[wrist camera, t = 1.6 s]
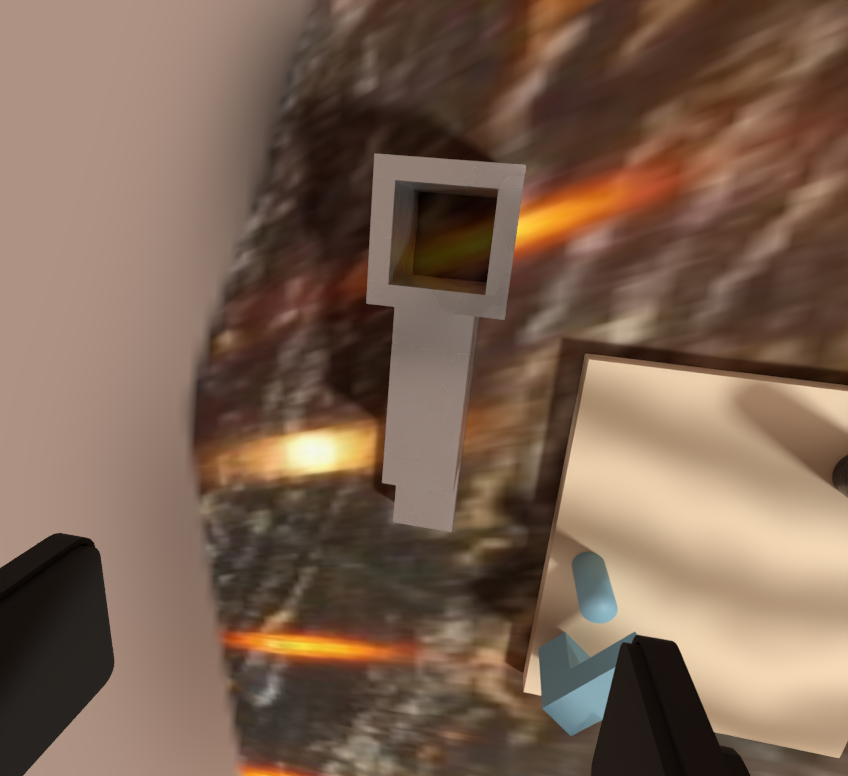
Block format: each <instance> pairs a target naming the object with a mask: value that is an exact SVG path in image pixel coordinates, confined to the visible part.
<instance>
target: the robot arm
mask: <svg viewBox="0 0 848 776" xmlns="http://www.w3.org/2000/svg"><path fill="white" fill-rule="evenodd" d="M113 668H114V654H113V647H112V640H111V633H110V625H109V618H108V610H107V602H106V594H105V587H104V579H103V572H102V564H101V557H100V553H99V551H98V550H97V548H95V545H94V543H93V541H92V540H91V539H89V538H85V537H79V536H74V535H68V534H62V533H58V534H53V535H51V536H49V537H48V538H46V539H44V540H43V541H41V542H40V543H38V544H37V545H35V546H34V547H32V548H31V549H29V550H28V551H26V552H24V553H23V554H21V555H20V556H18V557H17V558H15V559H14V560H12V561H11V562H9V563H8V564H6V565H4V566H3V567H1V568H0V776H23V775H24V774H25V773H26V772H27V770H28V769H29V768H30V767H31V766H32V765H33V764H34V763H35V761H37V759H38V758H39V757H40V756H41V755H42V754H43V753H44V752H45V750H46V749H47V748H48V747H49V746H50V745H51V744H52V743H53V742H54V741H55V739H56V738H57V737H58V736H59V735H60V734H61V733H62V732H63V730H64V729H65V728H66V727H67V726H68V725H69V724H70V723H71V722H72V720H73V719H74V718H75V717H76V716H77V715H78V714H79V713H80V712H81V711H82V709H83V708H84V707H85V706H86V705H87V704H88V703H89V702H90V701H91V700H92V698H93V697H94V696H95V695H96V694H97V693H98V692H99V691H100V689H101V688H102V687H103V686H104V685H105V684H106V682H107V681H108V679H109V678H110V676H111V674H112V671H113ZM591 776H750V774H749V772H748V770H747V768H746V766H745V764H744V762H743V760H742V759H741V757H740V755H739V754H738V753H737V752H736V751H735V750H734V749H732V748H729V747H726V746H721V745H719V743H718V741H717V738H716V736H715V733H714V731H713V729H712V726H711V724H710V721H709V719H708V717H707V714H706V712H705V710H704V707H703V705H702V702H701V700H700V698H699V695H698V693H697V690H696V688H695V686H694V683H693V681H692V678H691V676H690V674H689V671H688V669H687V666H686V664H685V662H684V659H683V657H682V654H681V652H680V650H679V648H678V646H677V644H676V643H675V642H674V641H670V640H665V639H659V638H653V637H648V636H642V635H636V636H635V637H634V638H633V641H632V644H631V643H626V642H623V643H622V644H621V646H620V649H619V654H618V658H617V662H616V666H615V670H614V674H613V678H612V683H611V687H610V691H609V695H608V699H607V703H606V707H605V711H604V716H603V720H602V724H601V728H600V732H599V736H598V740H597V745H596V749H595V753H594V757H593V761H592V770H591Z"/></svg>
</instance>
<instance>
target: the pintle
mask: <svg viewBox="0 0 848 776" xmlns="http://www.w3.org/2000/svg"><path fill="white" fill-rule="evenodd" d="M832 481H833V484H834V486H835V488H836V489H837V490H838V491H839V492H841V493H842V494H843V495H844V496H846V497H847V498H848V455H846V456H845V457H843V458H842V459H841V460H840V461H839V462H838V463H837V464H836V466H835V467H834V469H833V472H832Z"/></svg>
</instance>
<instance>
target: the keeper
mask: <svg viewBox="0 0 848 776" xmlns="http://www.w3.org/2000/svg"><path fill="white" fill-rule="evenodd" d="M572 571H573V576H574V582H575V587H576V592H577V598H578V603H579V609H580V612H581V614H582V616H583V617H584V618H585V619H586V620H588V621H590V622H593V623H606V622H609V621H611V620H612V619H613V618H614V617H615V616H616V614H617V611H618V607H617V603H616V600H615V596H614V593H613V589H612V586H611V582H610V579H609V575H608V572H607V568H606V565H605V562H604V560H603V558H602V557H601V556H600V555H598V554H596V553H593V552H583V553H580V554H578V555H577V556H576V557H575V558H574V559H573V561H572ZM636 635H638V634H637V633H636V632H633V633H631V634H630V635H628V636H626V637H625V638H623V639H621V640H619V641H618V642H616V643H614V644H613V645H611V646H609V647H607V648H606V649H604V650H602V651H601V652H599V653H597V654H596V655H594V656H592V657H590V656H589V655H588V654H587V653H586V652H585V651H584V650H583V649H582V648H581V647H580V646H579V645H578V644H577V643H576V642H575V641H574V640H573V639H572V638H571V637H570V636H569V635H568V634H567V633H566V632H564V633H562V634H561V635H559V636H557V637H556V638H554V639H552V640H551V641H549V642H548V643H546V644H544V645H543V646H541V647H540V648H538V651H539V666H540V681H541V696H542V709H543V710H545V711H546V712H547V713H548V714H549V715H550V716H551V717H552V718H553V719H554V720H555V721H556V722H557V723H558V724H559V725H560V726H561V727H562V728H563V729H564V730H565V731H566V732H567V733H568V734H569V735H570V736H572V735H574V734H576V733H578V732H580V731H582V730H584V729H585V728H587V727H589V726H591V725H593V724H595V723H597V722H599V721H600V720H602V719H603V716H604V711H605V707H606V703H607V699H608V695H609V691H610V687H611V683H612V678H613V674H614V670H615V666H616V662H617V658H618V654H619V649H620V646H621V644H622V643H623V642H626V643H631V644H632V641H633V638H634V637H635V636H636Z"/></svg>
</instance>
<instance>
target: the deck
mask: <svg viewBox="0 0 848 776" xmlns="http://www.w3.org/2000/svg"><path fill="white" fill-rule="evenodd" d="M846 455H848V385H841V384H832V383H824V382H816V381H808V380H800V379H792V378H783V377H775V376H767V375H759V374H751V373H742V372H734V371H726V370H718V369H710V368H702V367H693V366H685V365H677V364H669V363H661V362H653V361H644V360H636V359H628V358H620V357H612V356H604V355H595V354H587V353H585V356H584V362H583V367H582V372H581V377H580V382H579V387H578V393H577V398H576V403H575V408H574V413H573V419H572V424H571V429H570V434H569V439H568V444H567V450H566V455H565V460H564V465H563V470H562V476H561V481H560V486H559V491H558V496H557V501H556V507H555V512H554V517H553V522H552V527H551V533H550V538H549V543H548V548H547V553H546V558H545V564H544V569H543V574H542V579H541V584H540V590H539V595H538V600H537V605H536V610H535V615H534V621H533V626H532V631H531V636H530V641H529V646H528V652H527V657H526V662H525V667H524V672H523V685H524V692H527V693H531V694H536V695H541V681H540V666H539V651H538V648H540V647H541V646H543V645H544V644H546V643H548V642H549V641H551V640H552V639H554V638H556V637H557V636H559V635H561V634H562V633H564V632H566V633H567V634H568V635H569V636H570V637H571V638H572V639H573V640H574V641H575V642H576V643H577V644H578V645H579V646H580V647H581V648H582V649H583V650H584V651H585V652H586V653H587V654H588V655H589V656H590V657H592V656H594V655H596V654H597V653H599V652H601V651H602V650H604V649H606V648H607V647H609V646H611V645H613V644H614V643H616V642H618V641H619V640H621V639H623V638H625V637H626V636H628V635H630V634H631V633H633V632H636V633H637V634H638V635H642V636H648V637H653V638H659V639H665V640H670V641H674V642H675V643H676V644H677V646H678V648H679V650H680V652H681V654H682V657H683V659H684V662H685V664H686V666H687V669H688V671H689V674H690V676H691V678H692V681H693V683H694V686H695V688H696V690H697V693H698V695H699V698H700V700H701V702H702V705H703V707H704V710H705V712H706V714H707V717H708V719H709V721H710V724H711V726H712V729H713V731H714V732H717V733H722V734H727V735H731V736H736V737H741V738H746V739H750V740H755V741H760V742H765V743H769V744H774V745H779V746H784V747H788V748H793V749H798V750H803V751H807V752H812V753H817V754H822V755H827V756H831V757H836V758H840V756H841V754H842V752H843V750H844V747H845V745H846V743H847V741H848V498H847V497H846V496H844V495H843V494H842V493H841V492H839V491H838V490H837V489H836V488H835V486H834V484H833V481H832V472H833V469H834V467H835V466H836V464H837V463H838V462H839V461H840V460H841V459H842V458H843V457H845V456H846ZM583 552H593V553H596V554H598V555H600V556H601V557H602V558H603V560H604V562H605V565H606V568H607V572H608V575H609V579H610V582H611V586H612V589H613V593H614V596H615V600H616V603H617V607H618V611H617V614H616V616H615V617H614V618H613V619H612V620H611V621H609V622H606V623H593V622H590V621H588V620H586V619H585V618H584V617H583V616H582V614H581V612H580V609H579V603H578V598H577V592H576V587H575V582H574V576H573V571H572V561H573V559H574V558H575V557H576V556H577V555H578V554H580V553H583Z"/></svg>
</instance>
